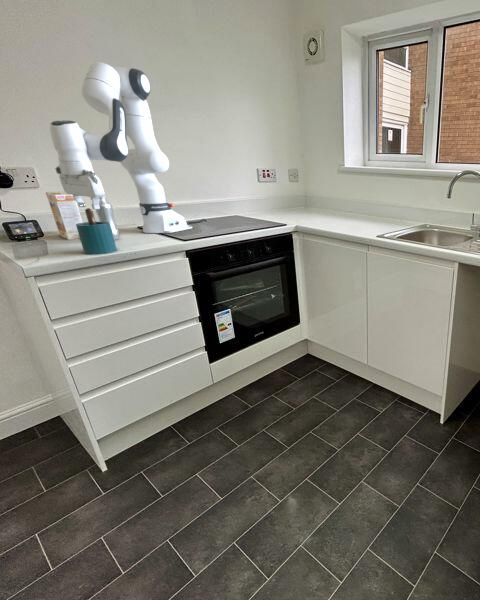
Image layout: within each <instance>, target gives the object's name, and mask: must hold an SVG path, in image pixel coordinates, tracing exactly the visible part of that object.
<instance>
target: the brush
mask: <svg viewBox="0 0 480 600" xmlns="http://www.w3.org/2000/svg"><path fill="white" fill-rule="evenodd" d="M84 212H85V215H86V219H87V222H88V223H89V225H96V222H97V221H96V218H95V215H94V211H93V208H92V209H91V208H89V207H88V208H85V209H84Z"/></svg>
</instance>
